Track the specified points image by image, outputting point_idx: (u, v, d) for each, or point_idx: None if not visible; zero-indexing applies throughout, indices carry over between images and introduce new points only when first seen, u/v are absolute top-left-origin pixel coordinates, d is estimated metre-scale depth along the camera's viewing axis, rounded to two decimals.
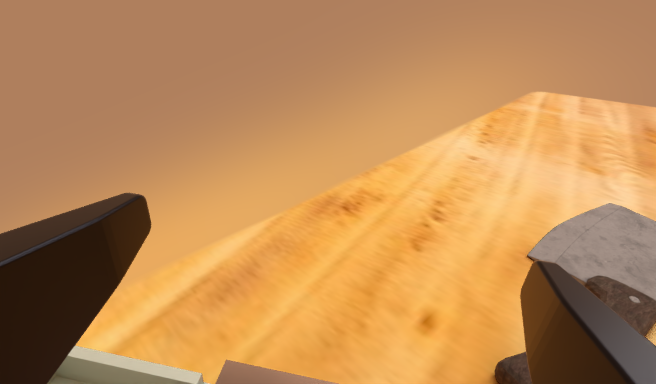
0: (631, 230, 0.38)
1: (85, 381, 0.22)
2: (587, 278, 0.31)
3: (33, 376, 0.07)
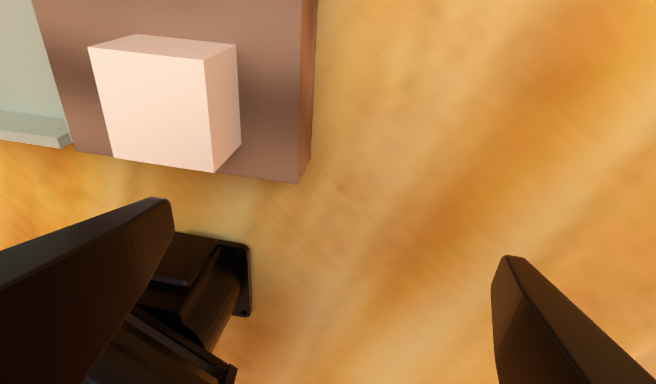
0: None
1: None
2: None
3: (64, 383, 0.07)
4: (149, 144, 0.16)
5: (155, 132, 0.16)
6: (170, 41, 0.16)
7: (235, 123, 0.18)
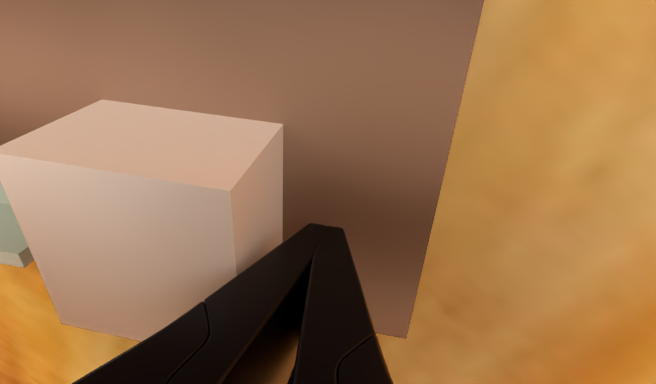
0: None
1: None
2: None
3: None
4: (123, 312, 0.09)
5: (132, 296, 0.08)
6: (162, 119, 0.09)
7: None
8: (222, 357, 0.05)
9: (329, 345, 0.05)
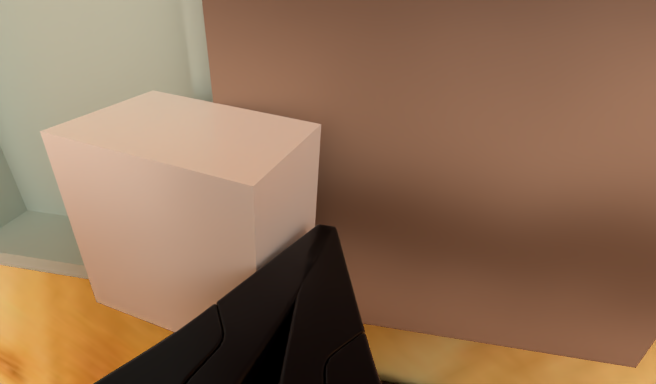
0: None
1: None
2: None
3: None
4: (150, 298, 0.09)
5: (159, 284, 0.08)
6: (203, 112, 0.09)
7: None
8: (237, 360, 0.05)
9: (317, 342, 0.05)
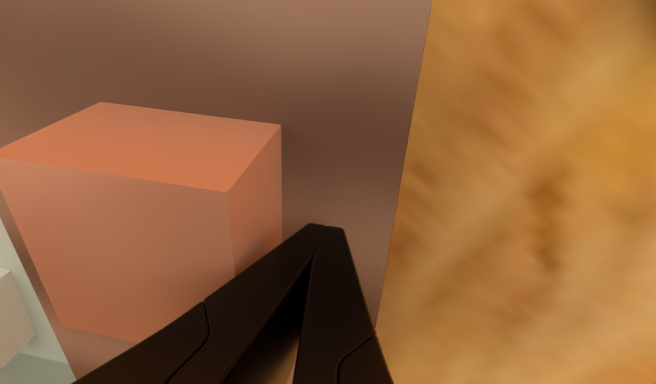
0: None
1: None
2: None
3: None
4: None
5: None
6: None
7: None
8: (221, 357, 0.05)
9: (329, 345, 0.05)
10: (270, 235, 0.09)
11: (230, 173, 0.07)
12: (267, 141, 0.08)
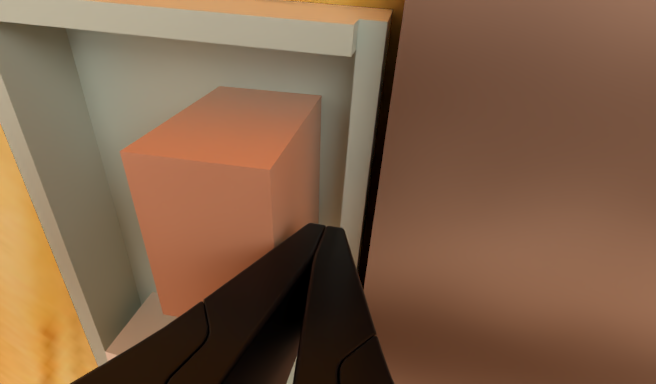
0: None
1: None
2: None
3: None
4: None
5: None
6: None
7: None
8: (221, 357, 0.05)
9: (330, 345, 0.05)
10: (232, 263, 0.08)
11: (154, 150, 0.08)
12: (221, 163, 0.07)
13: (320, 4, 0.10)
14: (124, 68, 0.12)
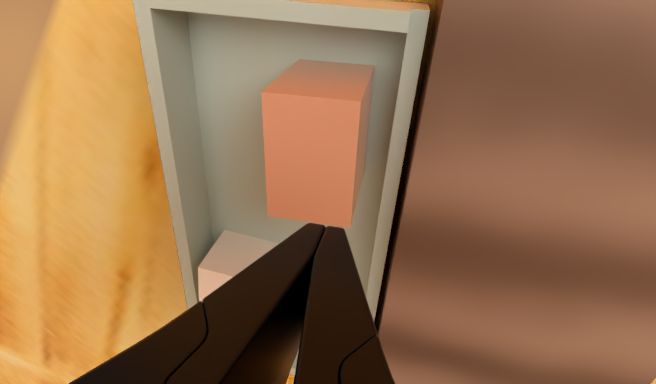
0: None
1: None
2: None
3: None
4: None
5: None
6: None
7: None
8: (220, 357, 0.05)
9: (331, 345, 0.05)
10: (325, 171, 0.13)
11: (282, 91, 0.12)
12: (329, 98, 0.11)
13: None
14: (228, 46, 0.16)
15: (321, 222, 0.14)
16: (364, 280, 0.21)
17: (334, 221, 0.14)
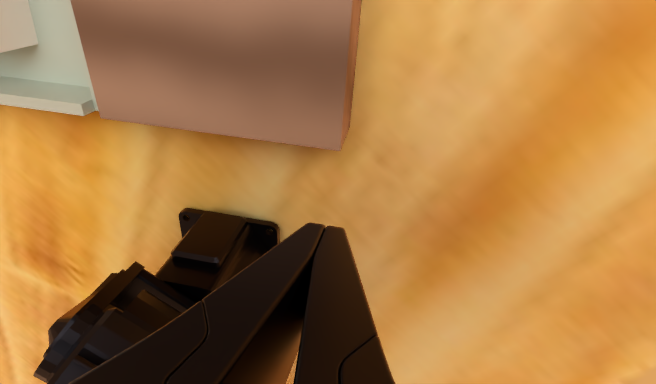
0: None
1: None
2: None
3: None
4: None
5: None
6: None
7: None
8: (220, 357, 0.05)
9: (331, 345, 0.05)
10: None
11: None
12: None
13: None
14: None
15: None
16: None
17: None
